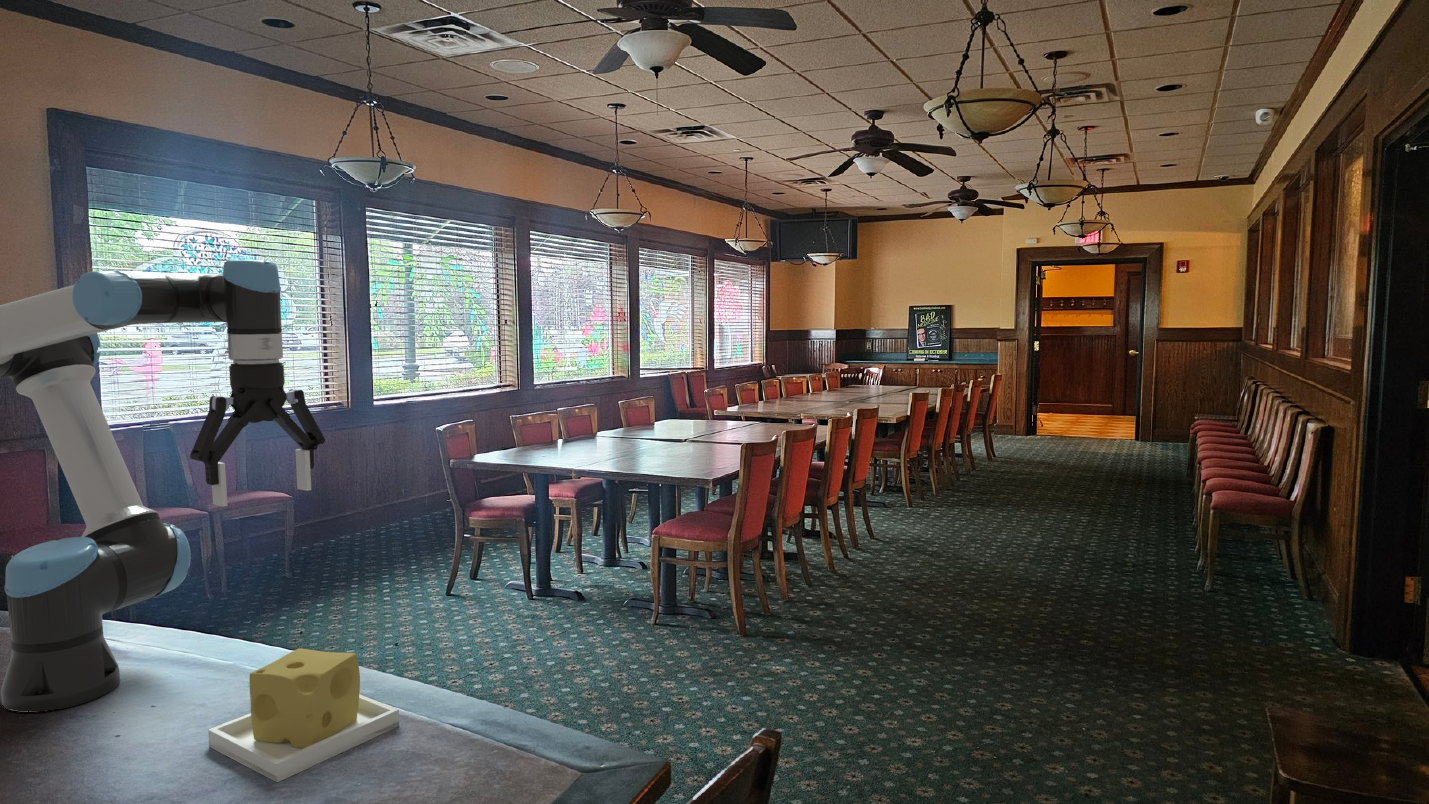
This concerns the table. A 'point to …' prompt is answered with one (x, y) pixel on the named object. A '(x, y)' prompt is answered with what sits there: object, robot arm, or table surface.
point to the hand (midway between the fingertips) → (263, 497)
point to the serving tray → (291, 760)
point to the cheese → (304, 697)
